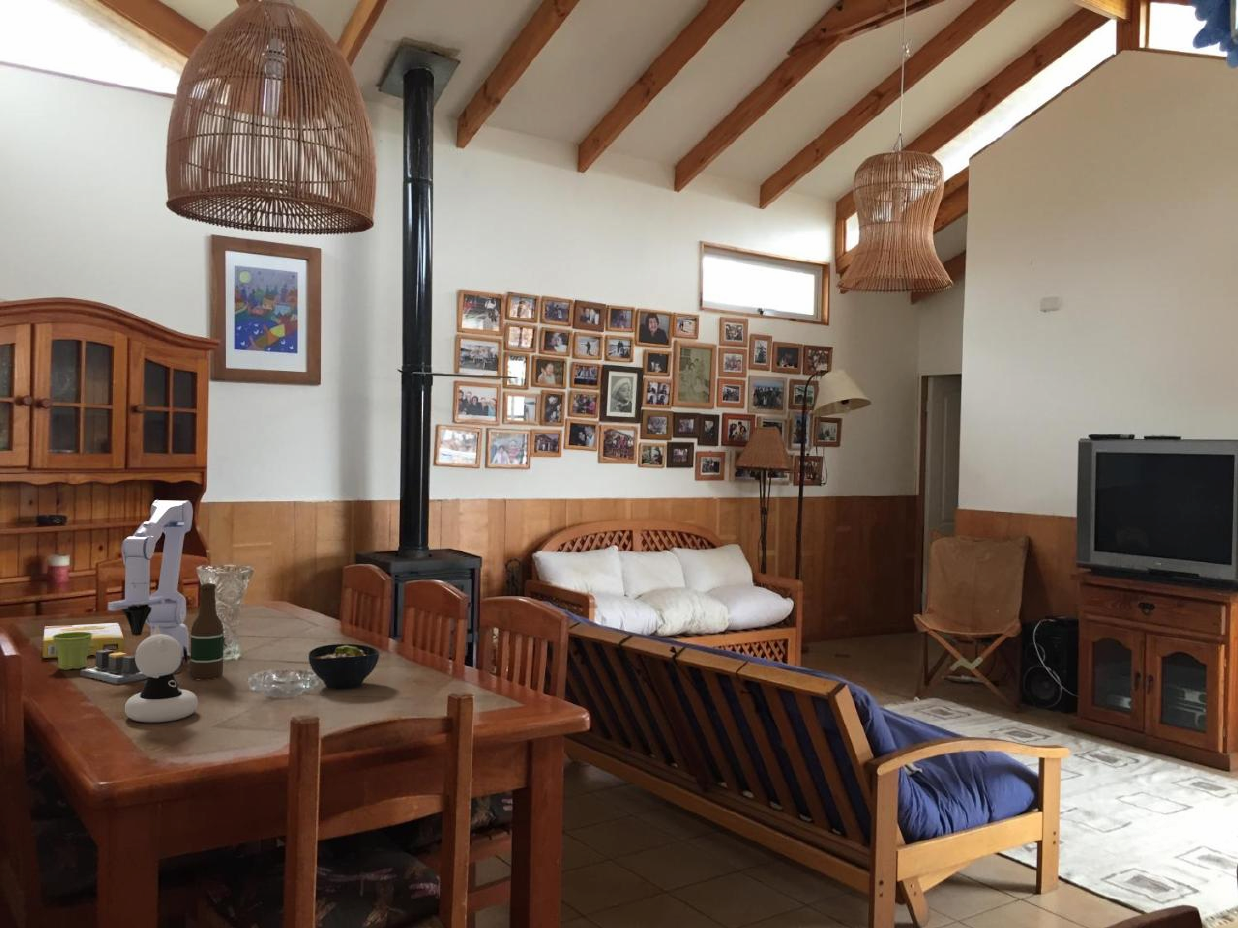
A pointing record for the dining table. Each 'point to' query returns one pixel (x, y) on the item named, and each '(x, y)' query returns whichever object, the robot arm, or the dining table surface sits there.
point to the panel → (115, 677)
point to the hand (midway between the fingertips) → (136, 634)
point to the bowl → (343, 664)
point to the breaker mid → (116, 661)
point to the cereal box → (101, 640)
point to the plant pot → (72, 649)
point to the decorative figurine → (160, 682)
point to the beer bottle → (207, 638)
